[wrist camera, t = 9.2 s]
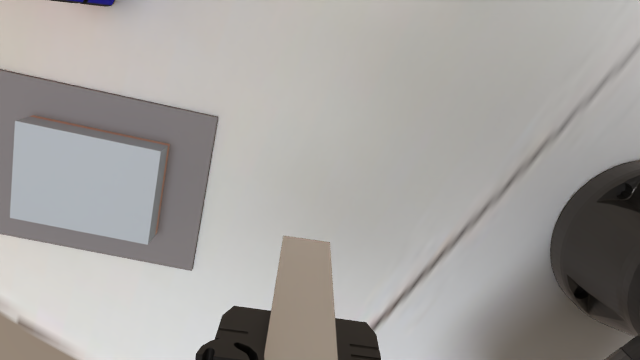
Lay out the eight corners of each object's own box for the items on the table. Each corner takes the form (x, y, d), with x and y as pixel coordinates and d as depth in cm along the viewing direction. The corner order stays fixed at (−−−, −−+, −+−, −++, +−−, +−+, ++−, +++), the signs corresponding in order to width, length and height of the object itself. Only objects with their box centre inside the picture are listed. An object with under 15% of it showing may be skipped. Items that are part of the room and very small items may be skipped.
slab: (160, 151, 39) (15, 120, 38) (147, 244, 41) (9, 217, 40) (169, 144, 41) (33, 115, 40) (157, 232, 44) (27, 206, 43)
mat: (218, 116, 41) (217, 117, 41) (192, 268, 45) (191, 270, 45) (-61, 56, 39) (-64, 56, 39) (-62, 219, 43) (-66, 221, 43)
